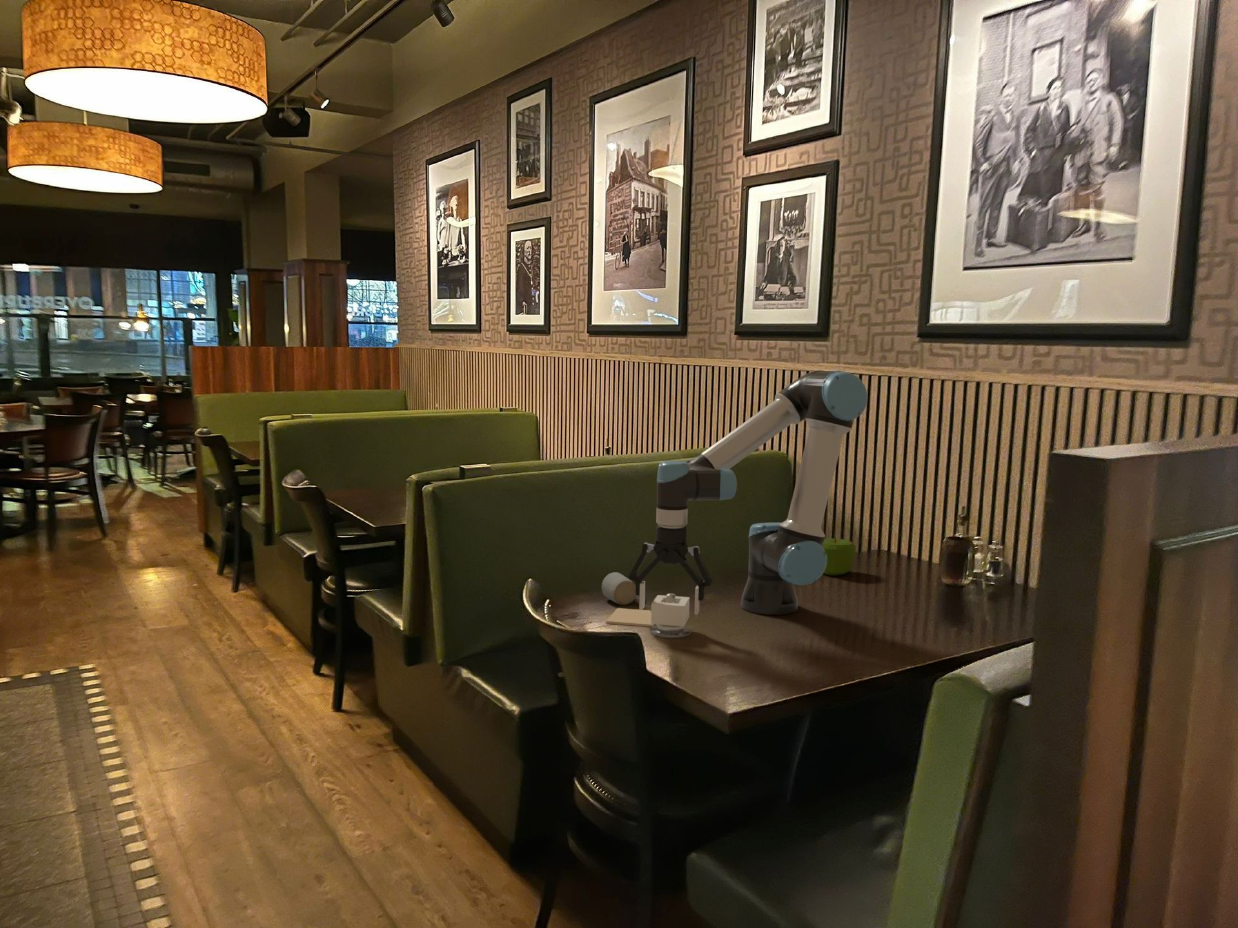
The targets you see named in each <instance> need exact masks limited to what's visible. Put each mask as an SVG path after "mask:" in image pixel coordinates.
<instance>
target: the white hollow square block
mask: <svg viewBox="0 0 1238 928" xmlns="http://www.w3.org/2000/svg"><path fill="white" fill-rule="evenodd" d="M650 608H651V624H654V625H657V624H659V625H671V626H686V623H687V621H688V620H689V618H690V596H689V597H688V596H677V595H675V603H666V595H665V594H664V595H662V594H661V595H660V594H658V595H656V596H655V598H654V599H653V601H652V602H651V605H650Z"/></svg>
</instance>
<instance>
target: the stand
mask: <svg viewBox="0 0 1238 928" xmlns="http://www.w3.org/2000/svg"><path fill="white" fill-rule="evenodd" d="M665 596H666V603H675V596H676V593H672V592H671V593H669V592H668V593H666V595H665ZM649 628H650V629H649V633H650V635H651V636H654V637H656V638H661V639H667V640H671V639H672V640H674V639H683V638H687V637H690V635H691V634H692V630H691V628H690V627H688V626H686V625H685V626H671V625H659V624H654V626H653V627H649Z"/></svg>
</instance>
